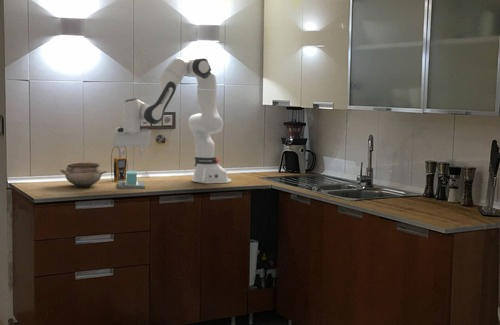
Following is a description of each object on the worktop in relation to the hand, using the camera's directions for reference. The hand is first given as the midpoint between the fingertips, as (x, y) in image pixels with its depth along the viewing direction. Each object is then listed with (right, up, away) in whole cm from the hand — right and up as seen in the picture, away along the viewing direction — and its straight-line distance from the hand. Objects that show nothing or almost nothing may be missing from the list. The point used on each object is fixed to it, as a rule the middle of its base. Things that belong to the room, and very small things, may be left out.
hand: (131, 154), depth 366 cm
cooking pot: (-25, -18, -4) cm, 31 cm away
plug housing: (0, -16, +2) cm, 16 cm away
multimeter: (-7, -15, +19) cm, 25 cm away
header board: (-1, -17, +2) cm, 17 cm away
